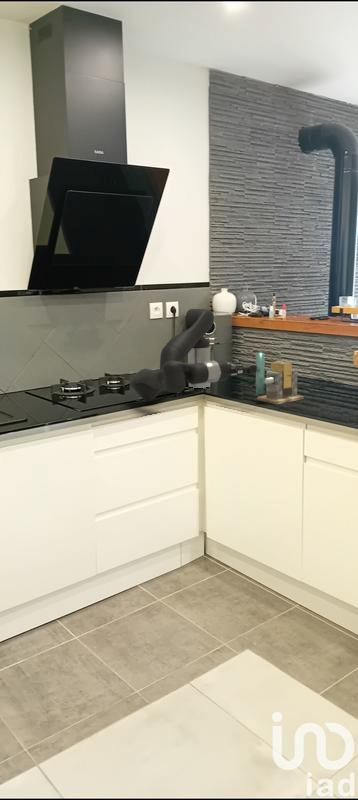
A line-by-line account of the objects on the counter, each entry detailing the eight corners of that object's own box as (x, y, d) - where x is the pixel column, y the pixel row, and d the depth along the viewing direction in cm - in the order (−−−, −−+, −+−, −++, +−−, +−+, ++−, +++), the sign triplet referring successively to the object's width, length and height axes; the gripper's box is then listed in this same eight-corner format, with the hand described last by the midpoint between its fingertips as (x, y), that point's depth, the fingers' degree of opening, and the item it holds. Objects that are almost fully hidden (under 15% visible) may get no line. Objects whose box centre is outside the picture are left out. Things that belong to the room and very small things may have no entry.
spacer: (283, 388, 233) (284, 364, 231) (270, 385, 239) (270, 362, 237) (291, 387, 235) (291, 363, 233) (278, 384, 241) (278, 361, 239)
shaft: (259, 394, 229) (260, 353, 226) (254, 392, 232) (254, 352, 228) (293, 387, 239) (294, 349, 236) (287, 386, 241) (288, 348, 238)
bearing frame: (277, 404, 230) (277, 375, 227) (257, 399, 238) (257, 371, 236) (303, 398, 237) (304, 370, 235) (283, 394, 246) (283, 367, 244)
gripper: (200, 379, 222) (235, 374, 231) (226, 384, 211) (261, 379, 220) (200, 358, 221) (235, 354, 230) (226, 363, 209) (261, 358, 218)
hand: (248, 366), depth 225 cm, fingers open, 8 cm apart
